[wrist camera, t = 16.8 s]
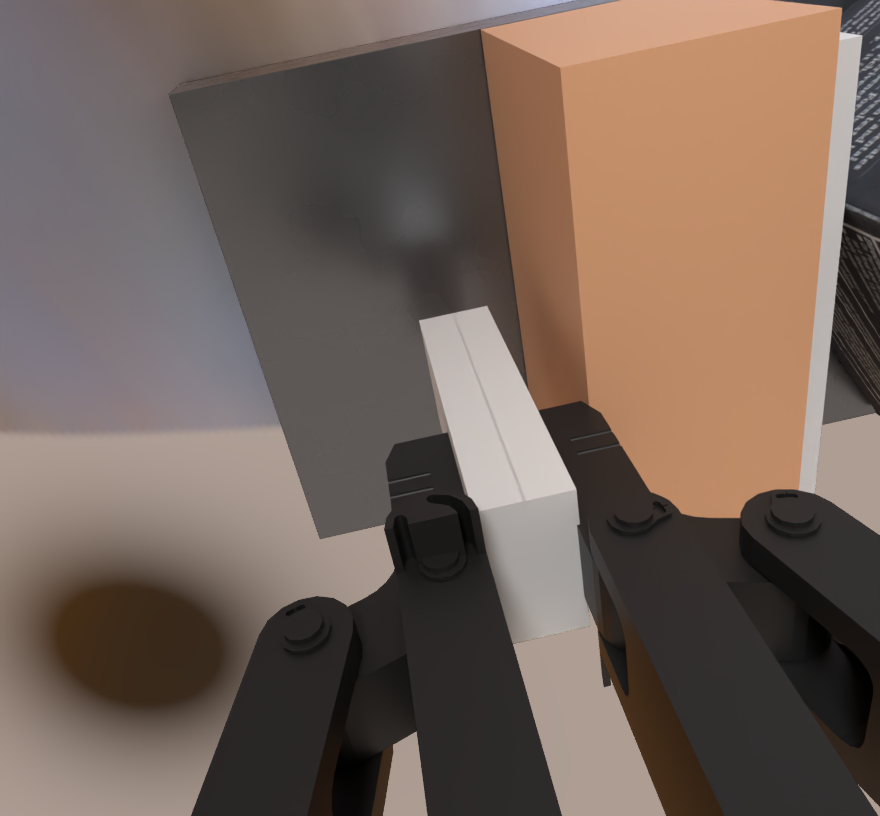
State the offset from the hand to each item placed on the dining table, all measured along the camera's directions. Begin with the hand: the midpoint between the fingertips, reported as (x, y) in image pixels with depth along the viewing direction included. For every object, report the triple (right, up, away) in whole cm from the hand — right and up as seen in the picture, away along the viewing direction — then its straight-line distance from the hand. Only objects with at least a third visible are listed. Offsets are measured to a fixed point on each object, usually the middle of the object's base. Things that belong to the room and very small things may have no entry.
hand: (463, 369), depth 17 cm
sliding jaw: (+4, +2, +2) cm, 5 cm away
